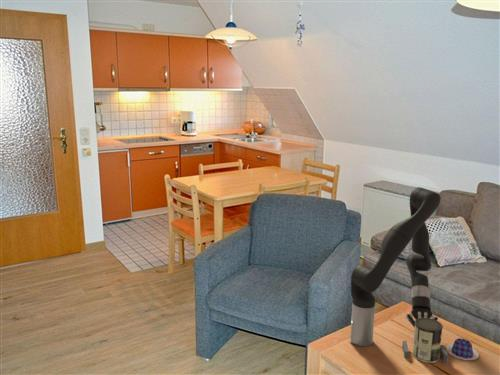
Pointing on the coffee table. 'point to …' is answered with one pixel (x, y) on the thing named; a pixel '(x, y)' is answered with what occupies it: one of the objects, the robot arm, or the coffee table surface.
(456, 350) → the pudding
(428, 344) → the coffee can
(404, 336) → the coffee table surface
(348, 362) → the coffee table surface
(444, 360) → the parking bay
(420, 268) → the robot arm
